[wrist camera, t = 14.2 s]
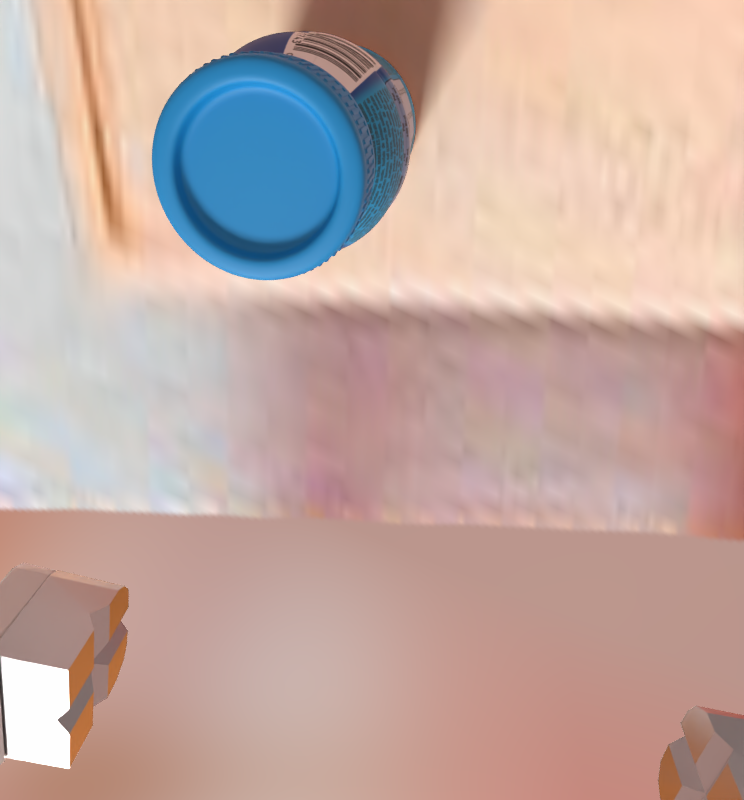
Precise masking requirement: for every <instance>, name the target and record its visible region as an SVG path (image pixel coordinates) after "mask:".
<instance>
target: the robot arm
mask: <svg viewBox="0 0 744 800" xmlns="http://www.w3.org/2000/svg"><path fill="white" fill-rule="evenodd" d="M128 599H129V590H128V588H126V587H125V586H123V585H118V584H114V583H110V582H106V581H102V580H97V579H93V578H88V577H85V576H80V575H76V574H72V573H67V572H64V571H59V570H57V571H55V570H51V569H48V568H43V567H39V566H35V565H31V564H26V563H22V564H20V565H18V566H16V567H14V568H13V569H12V570H11V571H10V572H9V573H8V574H7V575H6V577H5V578H4V579H3V580H2V581H1V582H0V764H2V763H3V762H4V761H5V757H7V758H13V759H19V760H24V761H30V762H36V763H41V764H47V765H52V766H58V767H64V768H70V767H71V765H72V763H73V761H74V759H75V758H76V756H77V754H78V752H79V750H80V748H81V746H82V745H83V743H84V741H85V739H86V737H87V735H88V734H89V732H90V730H91V728H92V726H93V706H95V705H97V704H98V703H100V702H102V701H103V700H105V699H107V698H108V696H109V694H110V692H111V690H112V688H113V686H114V684H115V682H116V680H117V677H118V675H119V672H120V669H121V666H122V663H123V661H124V656H125V651H126V646H127V634H128V630H127V629H126V627H125V626H124V625H123V623H122V622H121V619H122V618H123V616H124V614H125V612H126V611H127V609H128V607H129V603H128V602H129V600H128ZM681 725H682V729H683V732H684V735H685V736H684V737H682V738H680V739H678V740H676V741H674V742H672V743H671V744H669V745H668V747H667V749H666V751H665V753H664V755H663V757H662V759H661V762H660V770H659V778H658V784H659V793H660V799H661V800H744V715H740V714H735V713H730V712H725V711H720V710H715V709H710V708H705V707H700V706H695V707H693V708H692V709H690V710H688V711H687V713H686V715H685V717H684V718H683V720H682V722H681Z"/></svg>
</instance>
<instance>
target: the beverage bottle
mask: <svg viewBox="0 0 744 800" xmlns="http://www.w3.org/2000/svg"><path fill="white" fill-rule="evenodd" d="M415 129H416V121H415V111H414V106H413V102H412V99H411V96H410V93H409V91H408V88H407V86H406V84H405V83H404V81H403V79H402V78H401V76H400V75H399V73H398V72H397V71H396V70H395V69H394V67H393V66H392V65H391V64H390V63H389V62H387V61H386V60H385V59H384V58H382V57H381V56H380V55H378V54H376V53H375V52H373V51H371V50H369V49H367V48H364V47H361V46H358V45H356V44H354V43H352V42H350V41H348V40H346V39H343V38H341V37H338V36H335V35H331V34H327V33H321V32H311V31H304V32H283V33H276V34H272V35H268V36H264V37H261V38H259V39H256V40H254V41H252V42H250V43H248V44H246V45H244V46H243V47H241V48H240V49H238V50H237V51H236V52H234V53H230V54H229V56H221V58H220V59H213V60H211V62H210V63H205V64H204V65H203V66H202V67H201V68H199V69H196V70H195V72H193V73H192V74H190V75H189V76H188V77H187V78H186V79H185V80H184V81H183V82H181V84H180V85H179V86H178V87H177V88H176V90H175V91H174V92H173V93H172V95H171V96H170V98H169V99H168V101H167V103H166V104H165V106H164V108H163V110H162V113H161V115H160V117H159V120H158V123H157V126H156V130H155V134H154V140H153V149H152V167H153V176H154V182H155V186H156V190H157V194H158V197H159V200H160V202H161V205H162V207H163V210H164V212H165V214H166V216H167V218H168V219H169V221H170V223H171V224H172V226H173V227H174V229H175V230H176V232H177V233H178V234H179V236H180V237H181V238H182V239H183V240H184V242H185V243H186V244H187V245H188V246H189V247H190V248H191V249H192V250H193V251H195V252H196V253H197V254H198V255H199V256H201V257H202V258H203V259H205V260H206V261H208V262H209V263H211V264H212V265H214V266H216V267H218V268H220V269H222V270H224V271H226V272H229V273H231V274H234V275H237V276H241V277H245V278H250V279H257V280H278V279H285V278H290V277H294V276H297V275H300V274H305V273H306V272H308V271H310V270H311V271H312V270H313V269H314V268H316V267H317V266H321V265H322V263H323V262H327V261H328V260H329V258H330V257H331V256H335V254H336V253H337V251H340V250H341V249H343V248H345V247H347V246H349V245H351V244H353V243H354V242H356V241H357V240H359V239H360V238H362V237H363V236H364V235H366V234H367V233H368V232H369V231H370V230H371V229H372V228H373V227H374V226H375V225H376V224H377V223H378V222H379V221H380V219H381V218H382V217H383V215H384V214H385V213H386V211H387V210H388V208H389V207H390V206H391V204H392V203H393V201H394V200H395V198H396V196H397V195H398V193H399V191H400V189H401V187H402V184H403V182H404V179H405V176H406V173H407V169H408V165H409V159H410V154H411V151H412V148H413V144H414V138H415Z"/></svg>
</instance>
